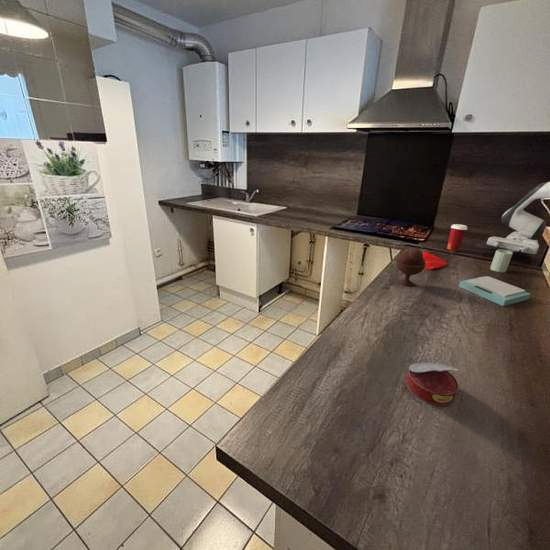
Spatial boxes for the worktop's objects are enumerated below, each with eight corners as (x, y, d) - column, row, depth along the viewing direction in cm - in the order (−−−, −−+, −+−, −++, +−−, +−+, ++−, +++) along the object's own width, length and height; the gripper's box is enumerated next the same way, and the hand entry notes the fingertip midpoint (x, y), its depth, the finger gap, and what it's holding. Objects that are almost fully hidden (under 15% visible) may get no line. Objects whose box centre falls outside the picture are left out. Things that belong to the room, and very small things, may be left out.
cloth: (445, 273, 129) (447, 268, 128) (412, 266, 136) (413, 262, 135) (448, 257, 150) (449, 253, 149) (419, 252, 156) (420, 248, 155)
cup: (508, 271, 134) (515, 253, 130) (500, 273, 132) (507, 254, 128) (495, 266, 139) (501, 249, 135) (487, 268, 137) (493, 250, 133)
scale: (528, 299, 108) (531, 291, 107) (503, 306, 102) (506, 298, 101) (482, 281, 122) (485, 274, 121) (458, 286, 117) (460, 279, 115)
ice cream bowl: (421, 281, 120) (430, 247, 114) (418, 291, 111) (427, 254, 105) (394, 275, 125) (401, 242, 119) (389, 285, 116) (397, 249, 110)
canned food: (408, 409, 65) (393, 373, 63) (417, 379, 73) (404, 345, 71) (466, 416, 58) (451, 375, 56) (470, 382, 65) (457, 344, 63)
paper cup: (463, 251, 160) (471, 226, 154) (455, 253, 156) (463, 227, 151) (449, 247, 166) (456, 223, 160) (441, 249, 162) (448, 224, 157)
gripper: (492, 232, 154) (485, 236, 145) (542, 241, 141) (538, 246, 132) (488, 243, 157) (481, 248, 148) (537, 253, 143) (532, 259, 135)
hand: (508, 247), depth 140 cm, fingers open, 8 cm apart
